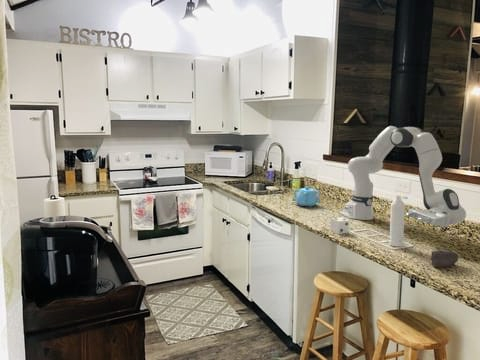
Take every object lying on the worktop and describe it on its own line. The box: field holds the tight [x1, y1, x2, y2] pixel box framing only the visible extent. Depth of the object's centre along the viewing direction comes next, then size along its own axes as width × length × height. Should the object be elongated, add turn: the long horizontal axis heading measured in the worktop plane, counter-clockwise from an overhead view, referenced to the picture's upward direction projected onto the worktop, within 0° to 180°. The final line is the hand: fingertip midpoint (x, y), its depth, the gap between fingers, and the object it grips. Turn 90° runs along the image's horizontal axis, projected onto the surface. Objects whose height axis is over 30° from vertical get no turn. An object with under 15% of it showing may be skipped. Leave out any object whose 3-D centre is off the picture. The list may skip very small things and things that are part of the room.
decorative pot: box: [292, 186, 321, 208], centre depth 273 cm, size 16×16×14 cm
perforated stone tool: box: [430, 250, 459, 268], centre depth 164 cm, size 15×5×7 cm, turn 108°
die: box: [330, 216, 350, 235], centre depth 211 cm, size 7×7×7 cm
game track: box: [349, 228, 415, 251], centre depth 200 cm, size 31×14×1 cm, turn 25°
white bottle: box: [388, 194, 409, 247], centre depth 188 cm, size 9×6×25 cm
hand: (413, 217), depth 191 cm, fingers open, 8 cm apart
